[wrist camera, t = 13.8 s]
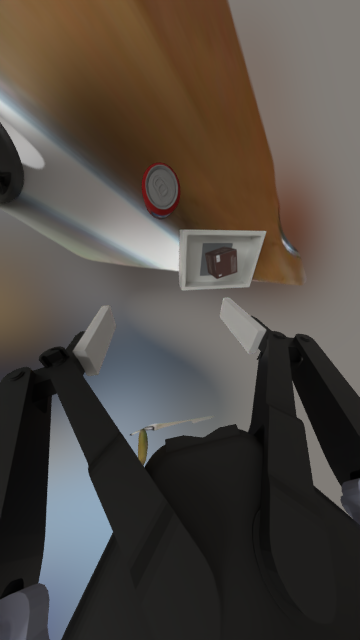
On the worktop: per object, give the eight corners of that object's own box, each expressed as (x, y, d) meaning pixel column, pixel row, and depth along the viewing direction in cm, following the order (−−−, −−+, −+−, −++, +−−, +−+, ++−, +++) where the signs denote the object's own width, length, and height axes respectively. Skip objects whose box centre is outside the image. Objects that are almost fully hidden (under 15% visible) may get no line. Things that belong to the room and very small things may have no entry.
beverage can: (158, 225, 35) (161, 223, 25) (138, 198, 31) (131, 183, 21) (178, 204, 33) (190, 193, 23) (159, 172, 30) (162, 143, 20)
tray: (179, 284, 44) (181, 290, 40) (179, 229, 36) (183, 229, 32) (240, 282, 47) (249, 287, 43) (254, 231, 39) (266, 231, 35)
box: (225, 267, 42) (237, 272, 36) (207, 272, 43) (216, 279, 36) (224, 245, 39) (237, 248, 33) (204, 252, 39) (213, 256, 33)
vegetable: (140, 427, 96) (138, 467, 80) (149, 427, 98) (148, 466, 82) (138, 431, 99) (135, 470, 83) (146, 430, 101) (145, 469, 85)
